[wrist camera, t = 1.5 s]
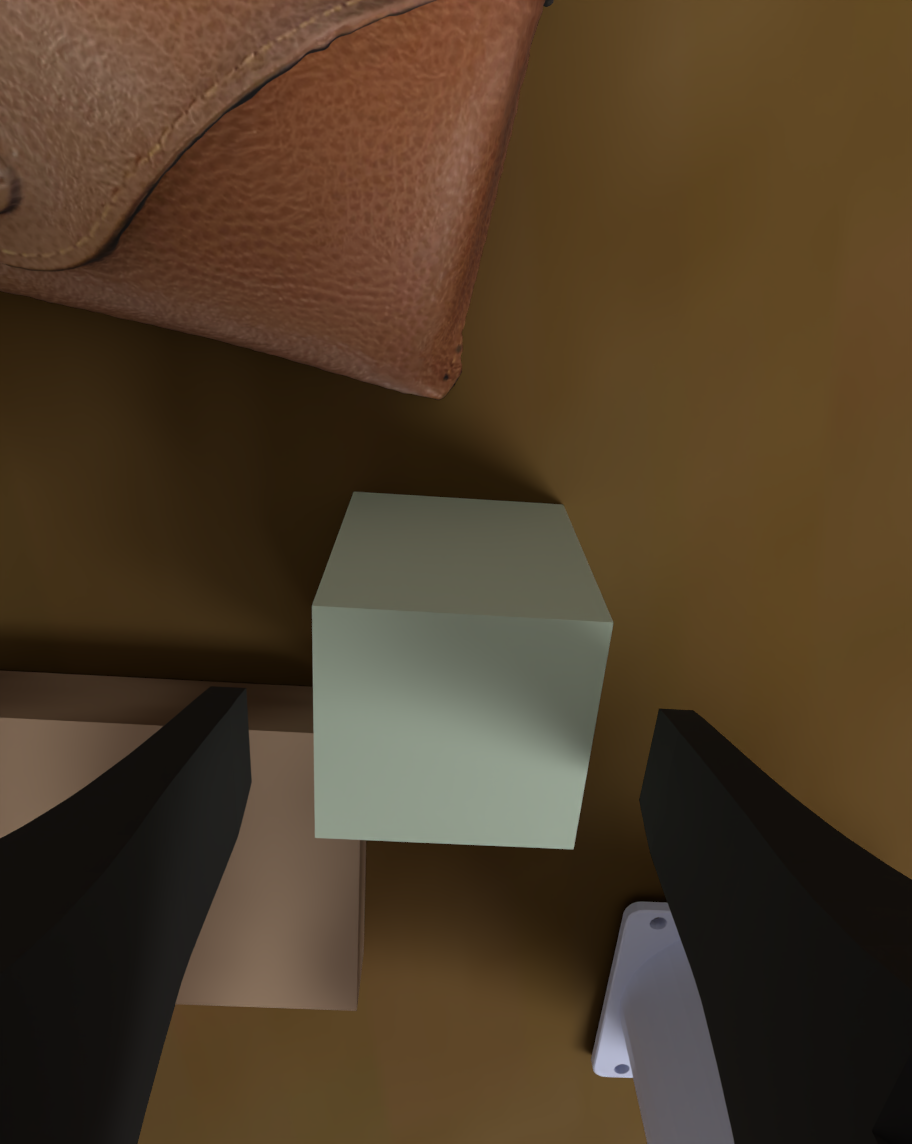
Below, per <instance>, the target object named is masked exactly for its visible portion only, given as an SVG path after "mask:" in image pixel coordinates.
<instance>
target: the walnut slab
mask: <svg viewBox="0 0 912 1144" xmlns="http://www.w3.org/2000/svg"><path fill="white" fill-rule="evenodd" d="M210 686H217V687H237V688H246V692H247V709H248V726H249V743H250V760H251V778H252V783H251V788H250V792H249V796H248V800H247V804H246V808H245V812H244V816H243V820H242V823H241V827H240V831H239V835H238V838H237V840H236V843H235V845H234V848H233V851H232V853H231V856H230V858H229V861H228V863H227V866H226V869H225V871H224V874H223V876H222V879H221V881H220V884H219V886H218V889H217V891H216V894H215V896H214V899H213V901H212V904H211V906H210V909H209V911H208V914H207V916H206V919H205V921H204V924H203V926H202V929H201V932H200V934H199V937H198V939H197V942H196V944H195V947H194V949H193V952H192V954H191V957H190V960H189V963H188V965H187V968H186V971H185V974H184V977H183V980H182V983H181V986H180V989H179V993H178V996H177V1000H176V1003H175V1004H187V1005H214V1006H241V1007H268V1008H295V1009H322V1010H350V1011H357V1004H358V995H359V987H360V978H361V970H362V962H363V953H364V917H365V875H366V840H350V839H328V838H315V807H314V731H313V687H307V686H288V685H269V684H250V683H230V682H211V681H192V680H173V679H154V678H135V677H116V676H97V675H78V674H59V673H39V672H20V671H1V670H0V838H2V837H4V836H6V835H7V834H9V833H11V832H13V831H15V830H17V829H19V828H20V827H22V826H24V825H25V824H27V823H29V822H31V821H32V820H34V819H35V818H37V817H39V816H40V815H42V814H44V813H45V812H47V811H49V810H50V809H52V808H53V807H55V806H57V805H58V804H60V803H61V802H63V801H64V800H66V799H67V798H69V797H71V796H72V795H74V794H75V793H77V792H78V791H79V790H81V789H82V788H84V787H85V786H87V785H88V784H89V783H91V782H92V781H94V780H95V779H96V778H98V777H99V776H100V775H102V774H103V773H104V772H106V771H107V770H108V769H110V768H111V767H112V766H114V765H115V764H117V763H118V762H119V761H121V760H122V759H123V758H125V757H126V756H127V755H129V754H130V753H131V752H132V751H134V750H135V749H136V748H137V747H138V746H140V745H141V744H142V743H143V742H145V741H146V740H147V739H148V738H150V737H151V736H152V735H153V734H154V733H156V732H157V731H158V730H159V729H160V728H162V727H163V726H164V725H165V724H166V723H168V722H169V721H170V720H171V719H172V718H173V717H175V716H176V715H177V714H178V713H179V712H180V711H182V710H183V709H184V708H185V707H186V706H187V705H189V704H190V703H191V702H192V701H193V700H195V699H196V698H197V697H198V696H199V695H201V694H202V693H203V692H204V691H205V690H207V689H208V688H209V687H210Z"/></svg>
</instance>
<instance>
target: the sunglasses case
mask: <svg viewBox="0 0 912 1144" xmlns="http://www.w3.org/2000/svg"><path fill="white" fill-rule="evenodd" d="M552 3H553V0H0V291H2V292H6V293H10V294H16V295H24V296H29V297H33V298H35V299H38V300H43V301H45V302H49V303H57V304H62V305H65V306H69V307H74V308H80V309H86V310H88V311H92V312H98V313H103V314H106V315H110V316H113V317H116V318H120V319H126V320H132V321H137V322H140V323H144V324H151V325H155V326H158V327H162V328H167V329H170V330H175V331H180V332H183V333H186V334H194V335H198V336H202V337H206V338H211V339H215V340H218V341H222V342H225V343H229V344H232V345H234V346H240V347H245V348H249V349H252V350H254V351H258V352H264V353H267V354H269V355H275V356H278V357H282V358H285V359H289V360H291V361H294V362H297V363H301V364H306V365H309V366H313V367H316V368H319V369H322V370H324V371H329V372H332V373H335V374H340V375H344V376H347V377H350V378H352V379H357V380H360V381H362V382H367V383H371V384H374V385H378V386H382V387H384V388H387V389H393V390H396V391H399V392H401V393H409V394H414V395H418V396H423V397H429V398H433V399H436V400H439V399H442V398H443V397H445V396H446V395H447V393H448V392H449V391H450V389H451V388H452V387H453V386H454V385H455V382H456V381H457V380H458V378H459V376H460V375H461V373H462V364H461V353H462V351H463V345H462V339H463V337H462V330H463V328H464V325H465V319H466V315H467V312H468V309H469V305H470V301H471V296H472V293H473V287H474V283H475V281H476V278H477V272H478V269H479V264H480V259H481V256H482V252H483V247H484V244H485V242H486V239H487V232H488V227H489V223H490V219H491V212H492V209H493V206H494V204H495V200H496V196H497V190H498V183H499V179H500V177H501V174H502V172H503V163H504V161H505V158H506V153H507V147H508V144H509V141H510V138H511V135H512V128H513V123H514V118H515V116H516V114H517V107H518V101H519V95H520V88H521V85H522V84H523V80H524V78H525V74H526V70H527V66H528V61H529V55H530V47H531V44H532V40H533V37H534V35H535V32H536V29H537V26H538V22H539V19H540V17H541V14H542V12H543V6H545V7H547V6H550V5H551V4H552Z"/></svg>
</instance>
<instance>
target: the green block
mask: <svg viewBox="0 0 912 1144" xmlns="http://www.w3.org/2000/svg"><path fill="white" fill-rule="evenodd" d="M612 628H613V620H612V618H611V616H610V613H609V611H608V609H607V606H606V604H605V602H604V599H603V597H602V595H601V592H600V590H599V588H598V585H597V583H596V580H595V578H594V576H593V573H592V571H591V569H590V566H589V564H588V562H587V559H586V557H585V555H584V552H583V550H582V548H581V545H580V543H579V541H578V538H577V536H576V534H575V531H574V529H573V526H572V524H571V522H570V519H569V517H568V515H567V512H566V510H565V508H564V505H562V504H546V503H530V502H514V501H498V500H482V499H465V498H449V497H433V496H417V495H401V494H385V493H369V492H353V495H352V498H351V500H350V503H349V506H348V508H347V511H346V514H345V517H344V519H343V522H342V525H341V528H340V530H339V533H338V536H337V538H336V541H335V544H334V547H333V549H332V552H331V555H330V558H329V560H328V563H327V566H326V568H325V571H324V574H323V577H322V579H321V582H320V585H319V588H318V590H317V593H316V596H315V598H314V601H313V604H312V655H313V731H314V807H315V838H328V839H350V840H373V841H396V842H418V843H441V844H463V845H486V846H508V847H531V848H553V849H574V844H575V838H576V833H577V827H578V821H579V816H580V810H581V804H582V799H583V793H584V787H585V782H586V776H587V770H588V764H589V759H590V753H591V747H592V742H593V736H594V730H595V725H596V719H597V713H598V707H599V702H600V696H601V690H602V685H603V679H604V673H605V668H606V662H607V656H608V650H609V645H610V639H611V633H612Z"/></svg>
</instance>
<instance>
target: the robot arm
mask: <svg viewBox="0 0 912 1144" xmlns="http://www.w3.org/2000/svg"><path fill="white" fill-rule="evenodd" d="M251 783H252V778H251V760H250V743H249V726H248V709H247V692H246V688H237V687H217V686H210V687H209V688H208V689H207V690H205V691H204V692H203V693H202V694H201V695H199V696H198V697H197V698H196V699H195V700H193V701H192V702H191V703H190V704H189V705H187V706H186V707H185V708H184V709H183V710H182V711H180V712H179V713H178V714H177V715H176V716H175V717H173V718H172V719H171V720H170V721H169V722H168V723H166V724H165V725H164V726H163V727H162V728H160V729H159V730H158V731H157V732H156V733H154V734H153V735H152V736H151V737H150V738H148V739H147V740H146V741H145V742H143V743H142V744H141V745H140V746H138V747H137V748H136V749H135V750H134V751H132V752H131V753H130V754H129V755H127V756H126V757H125V758H123V759H122V760H121V761H119V762H118V763H117V764H115V765H114V766H112V767H111V768H110V769H108V770H107V771H106V772H104V773H103V774H102V775H100V776H99V777H98V778H96V779H95V780H94V781H92V782H91V783H89V784H88V785H87V786H85V787H84V788H82V789H81V790H79V791H78V792H77V793H75V794H74V795H72V796H71V797H69V798H67V799H66V800H64V801H63V802H61V803H60V804H58V805H57V806H55V807H53V808H52V809H50V810H49V811H47V812H45V813H44V814H42V815H40V816H39V817H37V818H35V819H34V820H32V821H31V822H29V823H27V824H25V825H24V826H22V827H20V828H19V829H17V830H15V831H13V832H11V833H9V834H7V835H6V836H4V837H2V838H0V1144H137V1143H138V1139H139V1135H140V1131H141V1127H142V1123H143V1119H144V1116H145V1112H146V1108H147V1104H148V1101H149V1097H150V1093H151V1089H152V1086H153V1082H154V1078H155V1075H156V1071H157V1067H158V1064H159V1060H160V1056H161V1053H162V1049H163V1045H164V1042H165V1038H166V1035H167V1031H168V1028H169V1024H170V1021H171V1017H172V1014H173V1010H174V1007H175V1003H176V1000H177V996H178V993H179V989H180V986H181V983H182V980H183V977H184V974H185V971H186V968H187V965H188V963H189V960H190V957H191V954H192V952H193V949H194V947H195V944H196V942H197V939H198V937H199V934H200V932H201V929H202V926H203V924H204V921H205V919H206V916H207V914H208V911H209V909H210V906H211V904H212V901H213V899H214V896H215V894H216V891H217V889H218V886H219V884H220V881H221V879H222V876H223V874H224V871H225V869H226V866H227V863H228V861H229V858H230V856H231V853H232V851H233V848H234V845H235V843H236V840H237V838H238V835H239V831H240V827H241V823H242V820H243V816H244V812H245V808H246V804H247V800H248V796H249V792H250V788H251ZM639 801H640V806H641V811H642V817H643V822H644V827H645V832H646V836H647V840H648V845H649V849H650V854H651V857H652V860H653V863H654V866H655V868H656V871H657V874H658V877H659V880H660V883H661V886H662V889H663V891H664V894H665V897H666V900H667V903H666V902H643V901H641V902H635V903H632V904H630V905H629V906H628V907H627V908H626V909H625V911H624V913H623V917H622V922H621V926H620V931H619V935H618V940H617V944H616V949H615V953H614V958H613V962H612V967H611V971H610V976H609V980H608V985H607V989H606V994H605V999H604V1003H603V1008H602V1012H601V1017H600V1021H599V1026H598V1030H597V1035H596V1039H595V1044H594V1048H593V1053H592V1057H591V1060H592V1066H593V1071H594V1072H595V1073H596V1074H598V1075H600V1076H604V1077H625V1078H633V1079H634V1084H635V1089H636V1093H637V1098H638V1102H639V1107H640V1111H641V1116H642V1121H643V1125H644V1130H645V1134H646V1139H647V1144H912V880H911V879H910V878H908V877H906V876H905V875H903V874H902V873H900V872H898V871H897V870H895V869H893V868H892V867H890V866H889V865H887V864H886V863H884V862H883V861H881V860H880V859H878V858H877V857H875V856H874V855H872V854H871V853H869V852H868V851H866V850H865V849H863V848H862V847H860V846H859V845H857V844H856V843H854V842H853V841H851V840H850V839H848V838H847V837H846V836H844V835H843V834H841V833H840V832H839V831H837V830H836V829H834V828H833V827H832V826H830V825H829V824H828V823H826V822H825V821H824V820H823V819H821V818H820V817H819V816H817V815H816V814H815V813H813V812H812V811H811V810H810V809H808V808H807V807H806V806H804V805H803V804H802V803H801V802H799V801H798V800H797V799H796V798H794V797H793V796H792V795H791V794H789V793H788V792H787V791H786V790H785V789H783V788H782V787H781V786H780V785H779V784H777V783H776V782H775V781H774V780H773V779H771V778H770V777H769V776H768V775H767V774H766V773H764V772H763V771H762V770H761V769H760V768H759V767H758V766H756V765H755V764H754V763H753V762H752V761H751V760H750V759H748V758H747V757H746V756H745V755H744V754H743V753H742V752H741V751H739V750H738V749H737V748H736V747H735V746H734V745H733V744H732V743H731V742H729V741H728V740H727V739H726V738H725V737H724V736H723V735H722V734H720V733H719V732H718V731H717V730H716V729H715V728H714V727H713V726H711V725H710V724H709V723H708V722H707V721H706V720H705V719H703V718H702V717H701V716H700V715H698V714H697V713H696V712H695V711H693V710H674V709H659V712H658V716H657V721H656V725H655V730H654V735H653V739H652V744H651V748H650V753H649V758H648V762H647V767H646V771H645V776H644V781H643V785H642V790H641V794H640V799H639ZM658 917H659V918H658ZM654 918H657V919H654Z"/></svg>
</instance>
